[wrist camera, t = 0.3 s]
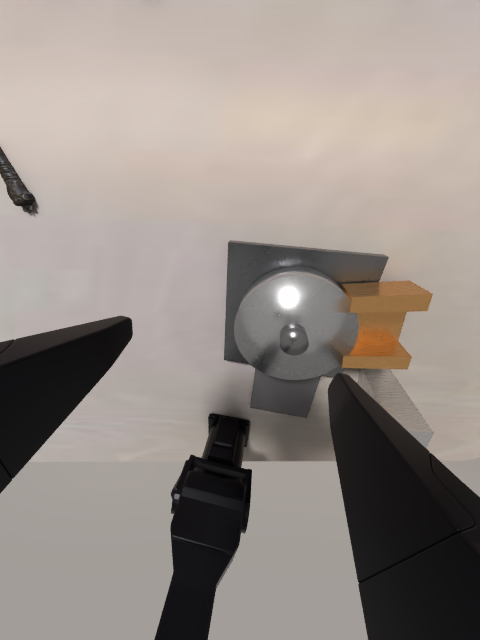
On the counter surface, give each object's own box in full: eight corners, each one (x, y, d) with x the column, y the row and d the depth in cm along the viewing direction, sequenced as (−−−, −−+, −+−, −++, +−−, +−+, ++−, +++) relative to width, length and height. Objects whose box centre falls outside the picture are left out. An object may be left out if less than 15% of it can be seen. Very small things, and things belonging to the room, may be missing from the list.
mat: (306, 414, 30) (306, 417, 30) (250, 404, 31) (250, 407, 30) (320, 372, 26) (320, 375, 26) (256, 362, 27) (255, 365, 26)
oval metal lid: (244, 360, 25) (238, 388, 21) (233, 270, 20) (222, 285, 16) (386, 362, 22) (409, 395, 19) (415, 258, 17) (455, 273, 14)
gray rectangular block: (383, 387, 26) (423, 454, 19) (357, 386, 26) (385, 450, 19) (389, 367, 24) (433, 432, 17) (360, 367, 25) (393, 429, 18)
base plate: (338, 372, 26) (340, 378, 25) (225, 355, 27) (224, 359, 26) (383, 254, 19) (388, 257, 18) (230, 240, 20) (228, 242, 19)
